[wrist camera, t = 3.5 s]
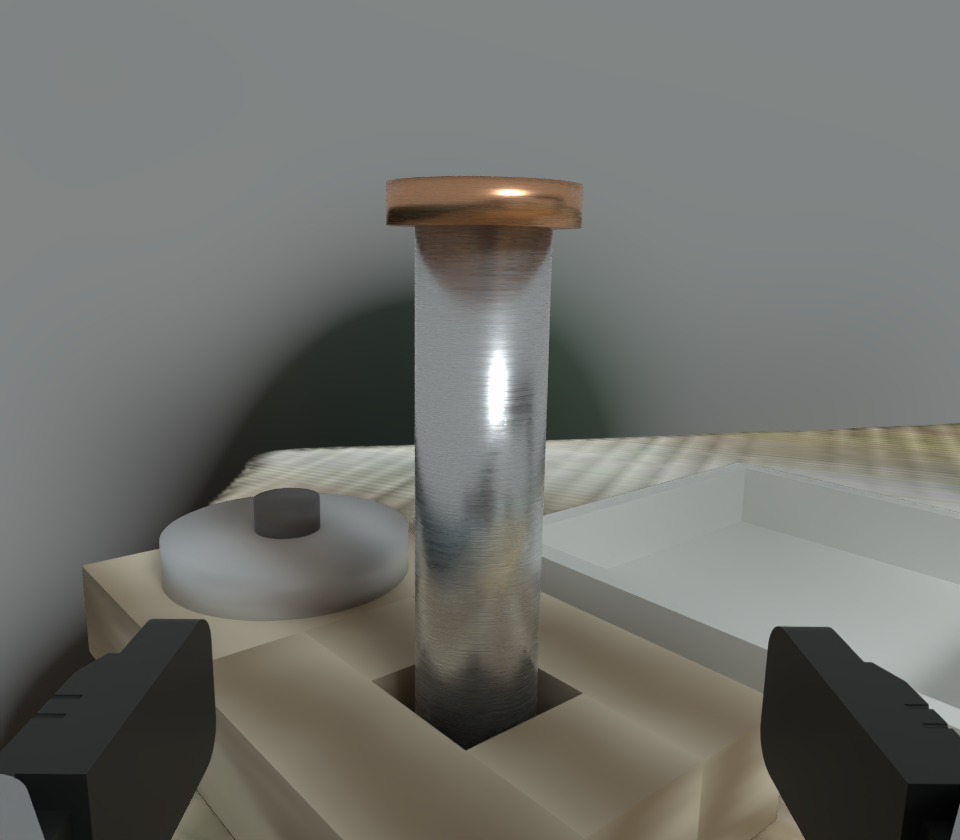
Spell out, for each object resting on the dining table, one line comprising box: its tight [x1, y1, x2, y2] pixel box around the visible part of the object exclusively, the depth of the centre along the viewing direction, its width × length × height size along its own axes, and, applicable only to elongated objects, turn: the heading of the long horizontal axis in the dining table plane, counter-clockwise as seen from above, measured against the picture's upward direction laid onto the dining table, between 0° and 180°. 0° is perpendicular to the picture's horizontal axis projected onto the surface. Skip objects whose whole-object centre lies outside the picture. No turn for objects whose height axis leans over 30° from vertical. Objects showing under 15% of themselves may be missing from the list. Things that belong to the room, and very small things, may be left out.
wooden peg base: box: [82, 488, 779, 840], centre depth 27 cm, size 12×22×6 cm, turn 40°
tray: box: [541, 462, 960, 736], centre depth 33 cm, size 19×19×4 cm
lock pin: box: [386, 176, 583, 751], centre depth 22 cm, size 5×5×17 cm
